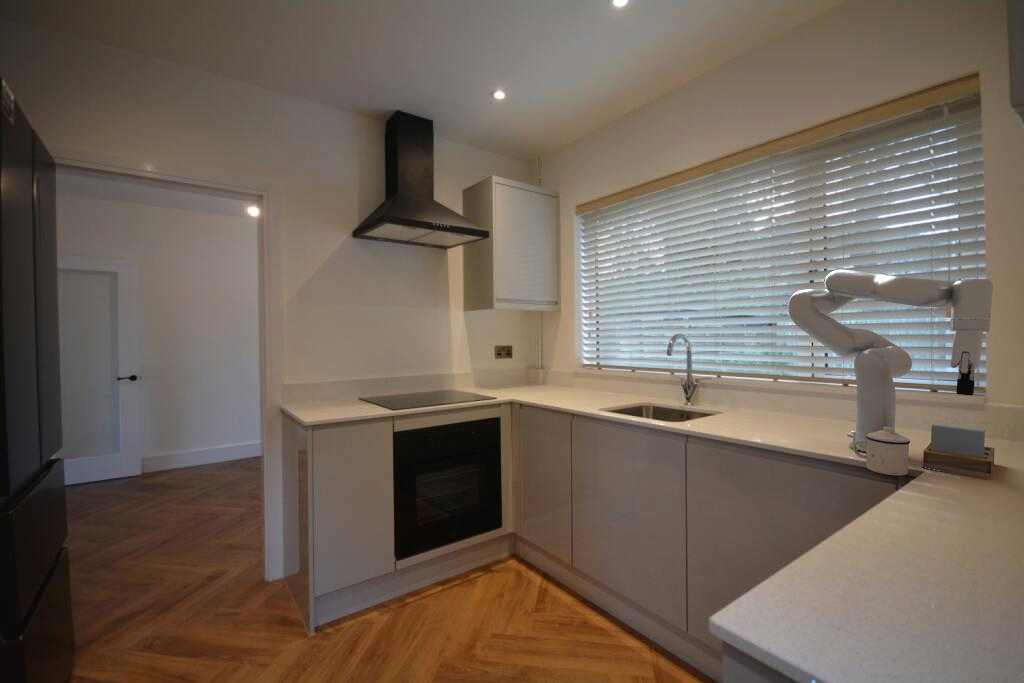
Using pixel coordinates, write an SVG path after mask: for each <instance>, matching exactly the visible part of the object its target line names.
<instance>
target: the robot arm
mask: <svg viewBox="0 0 1024 683" xmlns="http://www.w3.org/2000/svg"><path fill="white" fill-rule="evenodd" d="M993 283H994V282H993V281H991V280H990V279H987V278H964V279H959V280H958V279H957V280H956V281H955V280H953V281H952V280H942V279H931V278H930V279H928V278H918V277H917V278H915V277H907V276H906V277H904V276H896V275H889V274H888V273H886V272H875V271H865V270H858V269H857V270H855V269H836V270H833V271H831V272H829V274H827V275H826V277H825V279H824V287H825V289H802V290H801V289H800V290H798V291H796V292H794V293H793V294H792V295H791V296H790V298H789V300H788V301H789V302H788V303H787V304H788V307H787V308H788V313H789V316H790V318H791V320H792V322H793V323H794V324H795V326H797V327H798V328H799V329H800V330H802V332H805V333H806V334H808V335H809V336H810V337H812V338H814V339H815V340H816V341H817V342H819V343H820V344H821V345H823V346H824V347H826V348H828V349H829V350H830V351H831V352H833V353H834V354H836V355H837V356H840V357H842V358H855V359H854V364H853V369H854V374H855V375H854V376H855V381H856V382H855V383H856V411H855V412H856V414H855V416H856V417H855V418H856V419H855V430H851V431H850V432H847V433H846V436H847V437H848V438H851V439H852V441H851V442H849V448H850V449H852V448H853V443H854V442H855V441H857V440H866V441H867V438H866V436H867V434H869V433H874V432H877V431H880V430H883V427H891V428H893V431H894V432H896V405H897V404H896V403H897V402H896V400H897V399H896V397H897V395H896V387H895V383H894V378H896V379H897V378H900V377H903V376H905V375H907V374H908V373H909V372H910V371H911V369H912V368H913V360H912V358H911V356H910V354H909V353H908V352H907V351H906V350H904V349H903V348H901V347H900V346H898V345H897V344H896V343H893V342H891V341H890V340H888V339H887V338H885V337H883V336H881V335H880V334H878V333H876V332H874V331H872V330H869V329H866V328H852V327H849V326H846V325H844V324H842V323H841V322H839V321H838V320H836V319H834V318H833V317H831V316H829V315H827V314H831V313H834V312H835V311H838V310H839V309H840V308H842V307H844V306H845V305H847V304H849V303H851V302H852V301H854V300H857V299H863V300H870V301H876V302H887V303H891V304H892V303H894V304H898V305H899V304H900V305H905V306H912V307H913V306H914V307H921V308H922V307H923V308H947V307H948V308H949V307H951V308H950V309H951V311H950V322H949V323H950V324H949V331H950V332H954V334H953V341H952V351H951V360H950V367H951V368H952V369H955V368H957V367H958V369H957V370H958V371H957V372H958V377H957V379H956V380H957V381H956V394H957V395H960V396H961V395H962V396H973V395H974V394H975V382H976V381H975V370H976V369H977V368H979V367H980V362H981V357H982V350H983V349H982V348H983V338H984V333H989V332H990V331H991V330H990V329H991V316H992V303H993V289H994V284H993ZM856 449H857V451H858V450H861V451H860V452H862V451H866V452H865V453H867V443H857V444H856Z"/></svg>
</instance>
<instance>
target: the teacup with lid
mask: <svg viewBox="0 0 1024 683" xmlns="http://www.w3.org/2000/svg"><path fill="white" fill-rule="evenodd" d="M866 438H867V441H866V440H857V441H855V442H854V443H853V449H852V450H853V452H854V454H855V455H856V456H857V457H859V458H861V459H864V460H866V463H865V464H866V468H867V469H868V470H869V471H871V472H874V473H878V474H882V475H887V476H899V477H900V476H906V475H908V473H909V455H910V454H909V452H910V451H909V450H910V444H911V440H910V439H909V438H908V437H907V436H903V435H901V434H900V433H898V432H896V431H895V432H894V431H893V428H891V427H883V430H880V431H877V432H874V433H869V434H867V436H866ZM857 443H867V452H866V455H863V454H861V453H859V451H858V450H857V449H856V444H857Z"/></svg>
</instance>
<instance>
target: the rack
mask: <svg viewBox="0 0 1024 683" xmlns="http://www.w3.org/2000/svg"><path fill="white" fill-rule="evenodd" d="M995 450H996V449H995V447H990V446H984V459H982V458H975V457H969V456H962V455H955V454H948V453H942V452H935V451H931V442H930V443H929V444H928V445H927V446H926V447H925V448H924V450H923V458H922V459H923V460H922V468H923V467H926V468H930V469H935V470H934V471H936V470H940V471H939V472H942V471H945V472H944V473H948V472H950V473H949V474H953V473H955V475H959V476H960V475H961V476H965V477H972V478H978V479H984V480H990V481H991V480H992V477H993V471H994V465H995ZM930 469H929V470H930Z"/></svg>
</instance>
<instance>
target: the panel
mask: <svg viewBox="0 0 1024 683" xmlns="http://www.w3.org/2000/svg"><path fill="white" fill-rule="evenodd" d="M930 431H931V433H930V434H931V435H930V436H931V437H930V443H931V451H935V452H942V453H948V454H955V455H962V456H969V457H975V458H982V459H984V447H985V444H986V443H985V442H986V440H985V437H986V430H981V429H972V428H966V427H965V428H964V427H956V426H947V425H941V424H932V425H931V430H930Z"/></svg>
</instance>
